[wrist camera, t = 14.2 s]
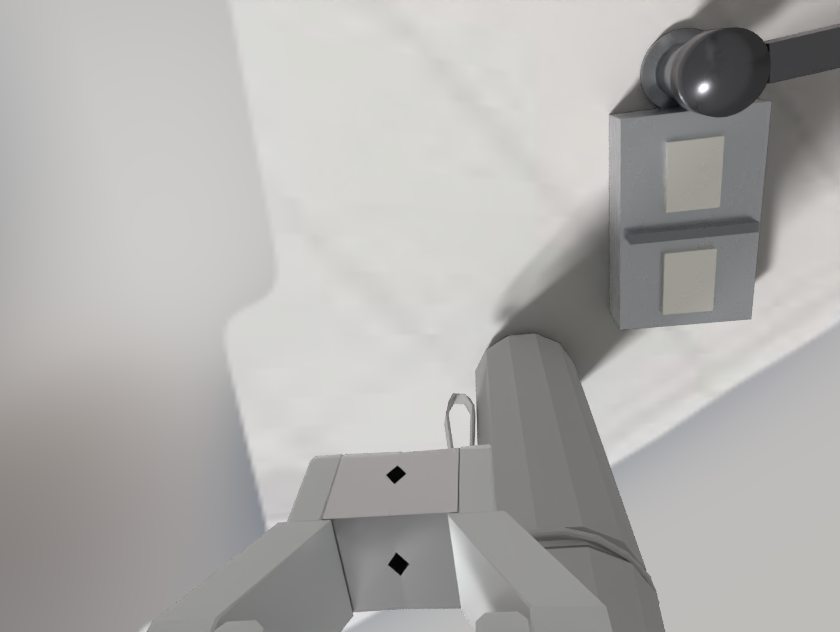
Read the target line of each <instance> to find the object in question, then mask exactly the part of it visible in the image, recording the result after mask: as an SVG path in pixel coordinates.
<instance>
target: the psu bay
mask: <svg viewBox="0 0 840 632" xmlns="http://www.w3.org/2000/svg"><path fill="white" fill-rule="evenodd" d="M771 103H772V101H767V100H761V99H756V100H755V101H754V102H753V103H752V104H751V105H750V106H749V107H747V108H746V109H744V110H743V111H741V112H739V113H737V114H734V115H731V116H728V117H719V118H716V117H709V116H705V115H702V114H698V113H694V112H691V111H688V110H687V109H685V108H683V107H677V108H669V109H663V108H659V109H651V110H643V111H634V112H626V113H618V114H610V115H609V228H610V313H611V315H612V317H613V318H614V320H615V322H616V324H617V325H618V327H619V329H620V330H627V329H639V328H651V327H663V326H676V325H688V324H700V323H712V322H724V321H736V320H748V319H751V316H752V306H753V295H754V284H755V274H756V263H757V252H758V242H759V231H760V220H761V210H762V199H763V188H764V178H765V167H766V156H767V146H768V135H769V125H770V114H771Z"/></svg>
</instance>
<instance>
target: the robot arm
mask: <svg viewBox="0 0 840 632" xmlns="http://www.w3.org/2000/svg"><path fill="white" fill-rule="evenodd" d="M439 608H442V609H446V608H447V609H448V608H461V611H462V613H463V614H464V615H465V617H466V619H467V620H468V622H469V623H470V625H471V626H472V628H473V630H474V631H475V632H613V631H612V627H611V623H610V620H609V616H608V612H607V608H606V606H605V605H604V604H603V603H602V602H601V601H600V600H599V599H598V598H597V597H596V596H595V595H593V594H592V593H591V592H590V591H589V590H588V589H587V588H586V587H585V586H584V585H583V584H582V583H581V582H580V581H579V580H578V579H577V578H576V577H574V576H573V575H572V574H571V573H570V572H569V571H568V570H567V569H566V568H565V567H564V566H563V565H562V564H561V563H560V562H559V561H558V560H556V559H555V558H554V557H553V556H552V555H551V554H550V553H549V552H548V551H547V550H546V549H545V548H544V547H543V546H542V545H541V544H540V543H538V542H537V541H536V540H535V539H534V538H533V537H532V536H531V535H530V534H529V533H528V532H527V531H526V530H525V529H524V528H523V527H522V526H521V525H519V524H518V523H517V522H516V521H515V520H514V519H513V518H512V517H511V516H510V515H509V514H508V513H507V512H506V511H498V507H497V497H496V487H495V477H494V467H493V456H492V447H491V446H490V444H486V445H476V446H466V447H461V448H452V449H439V450H426V451H413V452H384V453H361V454H345V455H342V454H340V455H325V456H315V457H314V458H313V459H312V460H311V461H310V463H309V466H308V469H307V471H306V474H305V476H304V479H303V482H302V484H301V487H300V489H299V492H298V495H297V497H296V500H295V502H294V505H293V508H292V510H291V513H290V515H289V518H288V521H287V522H282V523H277V524H276V525H275V526H274V527H272V528H271V529H270V530H268V531H267V532H266V533H265V534H263V535H262V536H261V537H260V538H258V539H257V540H256V541H254V542H253V543H252V544H251V545H249V546H248V547H247V548H245V549H244V550H243V551H242V552H240V553H239V554H238V555H237V556H235V557H234V558H233V559H231V560H230V561H229V562H228V563H226V564H225V565H224V566H222V567H221V568H220V569H219V570H217V571H216V572H215V573H213V574H212V575H211V576H210V577H208V578H207V579H206V580H205V581H203V582H202V583H201V584H200V585H198V586H197V587H196V588H194V589H193V590H192V591H190V592H189V593H188V594H187V595H185V596H184V597H183V598H182V599H180V600H179V601H178V602H176V603H175V604H174V605H173V606H171V607H170V608H169V609H167V610H166V611H165V612H164V613H162V614H161V615H160V616H159V617H157V618H156V619H155V620H153V621H152V623H151V625H150V627H149V628H148V630H147V632H341V631H342V629H343V628H344V627H345V626H346V624H347V623H348V622H349V620H350V619H351V618H352V617H353V612H365V611H380V610H395V609H439Z"/></svg>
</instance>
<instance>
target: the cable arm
mask: <svg viewBox="0 0 840 632" xmlns="http://www.w3.org/2000/svg"><path fill="white" fill-rule="evenodd" d="M836 68H840V24H836V25H832V26H827V27H823V28H819V29H815V30H810V31H806V32H802V33H798V34H793V35H789V36H785V37H780V38H776V39H772V40H768V41H763V40H762V39H761V38H760V37H759V36H758V35H757V34H755V33H754V32H752V31H750V30H748V29H744V28H737V27H735V28H722V29H713V30H708V31H705V32H702V33H700V34H698V35H696V36H695V37H693V38H692V39H690V40H689V41H688V42H687V43H686V44H685V45H684V46H683V47H682V48H681V49H680V51H679V52H678V54H677V55H676V57H675V59H674V62H673V64H672V68H671V73H670V85H671V90H672V93H673V95H674V97H675V99H676V100H677V102H678V103H679V104H680V105H681V106H682V107H683V108H685V109H687V110H688V111H691V112H694V113H698V114H702V115H705V116H709V117H716V118H719V117H728V116H731V115H734V114H737V113H739V112H741V111H743V110H744V109H746V108H747V107H749V106H750V105H751V104H752V103H753V102H754V101H755V100H756V99H757V98H758V97H759V95H760V94H761V93H762V91H763V89H764V88H765V86H766V83H774V82H778V81H783V80H787V79H792V78H796V77H801V76H805V75H810V74H814V73H819V72H823V71H827V70H832V69H836Z"/></svg>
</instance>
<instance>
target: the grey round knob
mask: <svg viewBox="0 0 840 632" xmlns="http://www.w3.org/2000/svg"><path fill="white" fill-rule="evenodd" d="M702 32H704V31H701V30H698V29H693V28H685V29H678V30H674V31H671V32H669V33H667V34H665V35H663V36H662V37H660V38H659V39H658V40H657V41H656V42H655V43H654V44H653V45H652V46H651V47H650V48H649V50H648V51H647V53H646V55H645V57H644V59H643V62H642V65H641V71H640V81H641V86H642V89H643V91H644V93H645V95H646V97H647V98H648V99H649V100H650V101H651V102H652V103H653V104H654V105H656V106H658V107H660V108H663V109H669V108H677V107H682V106H681V105H680V104H679V103H678V102H677V100H676V99H675V97H674V95H673V93H672V90H671V85H670V73H671V68H672V64H673V62H674V59H675V57H676V55H677V54H678V52H679V51H680V49H681V48H682V47H683V46H684V45H685V44H686V43H687V42H688V41H689V40H690V39H692V38H693V37H695V36H696V35H698V34H700V33H702Z"/></svg>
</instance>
